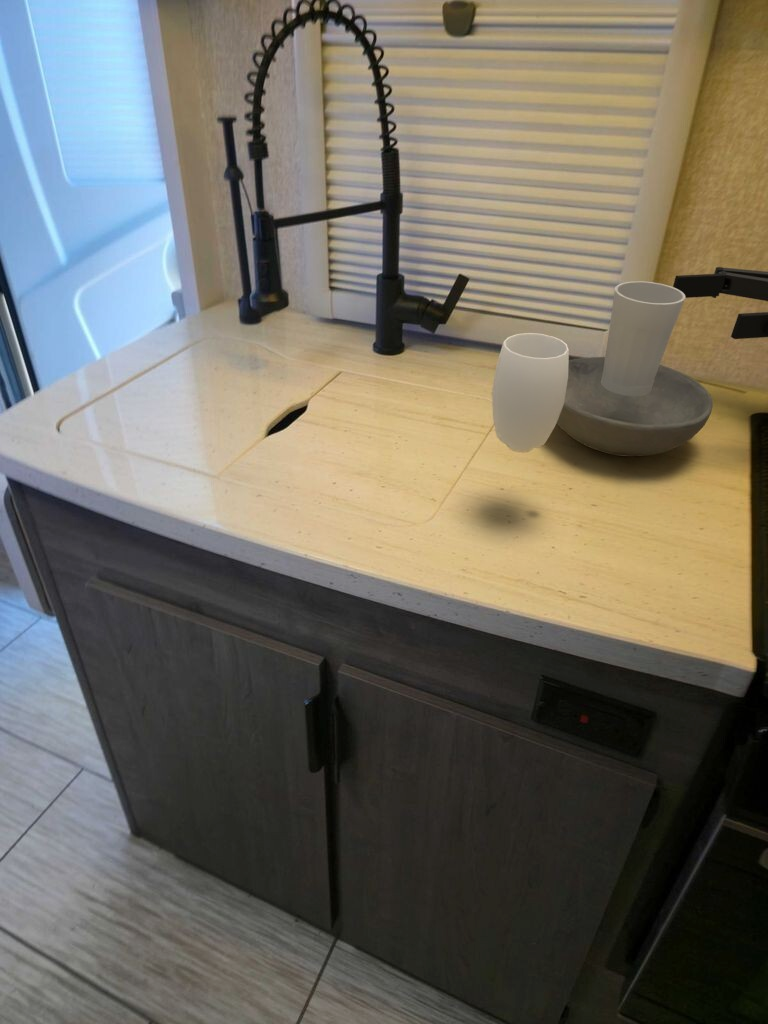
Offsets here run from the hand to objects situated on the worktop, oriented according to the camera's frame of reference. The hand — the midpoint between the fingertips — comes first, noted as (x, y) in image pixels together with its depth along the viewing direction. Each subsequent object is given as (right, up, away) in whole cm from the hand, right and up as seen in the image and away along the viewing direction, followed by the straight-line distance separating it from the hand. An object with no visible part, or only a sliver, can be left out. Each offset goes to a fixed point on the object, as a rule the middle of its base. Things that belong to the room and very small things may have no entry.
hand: (703, 305), depth 80 cm
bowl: (-8, -15, +10) cm, 20 cm away
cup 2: (-7, -9, +5) cm, 13 cm away
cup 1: (-24, -26, -4) cm, 36 cm away
